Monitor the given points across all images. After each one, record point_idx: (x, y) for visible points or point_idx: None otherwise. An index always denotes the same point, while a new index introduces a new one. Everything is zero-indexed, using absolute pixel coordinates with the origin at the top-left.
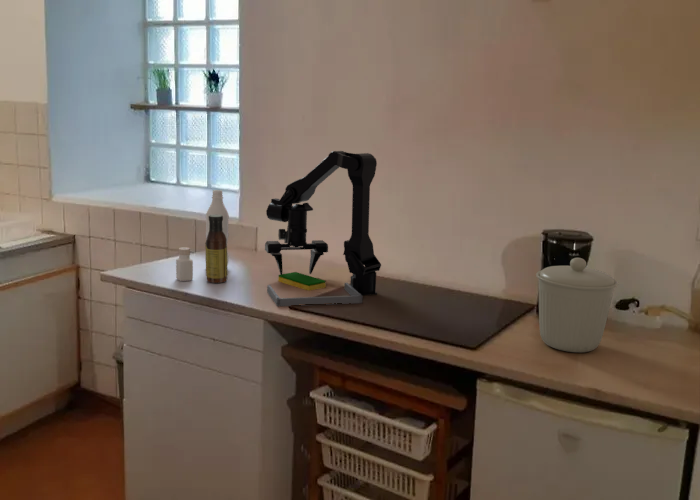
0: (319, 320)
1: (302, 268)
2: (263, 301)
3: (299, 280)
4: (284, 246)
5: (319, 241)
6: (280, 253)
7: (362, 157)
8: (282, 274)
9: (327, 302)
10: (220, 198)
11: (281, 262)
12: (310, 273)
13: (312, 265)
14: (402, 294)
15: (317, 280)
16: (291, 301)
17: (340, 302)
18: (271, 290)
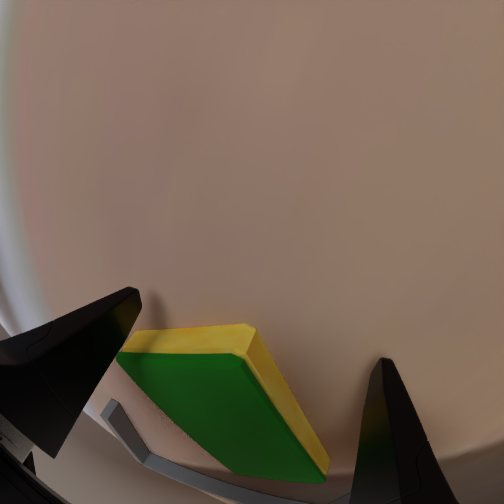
0: (209, 493)
1: (484, 2)
2: None
3: (209, 451)
4: (20, 498)
5: None
6: (34, 443)
7: None
8: (134, 368)
9: (248, 494)
10: None
11: (82, 401)
12: (371, 379)
13: (361, 461)
14: (460, 498)
15: (288, 476)
16: (168, 470)
17: (278, 501)
18: (119, 439)
